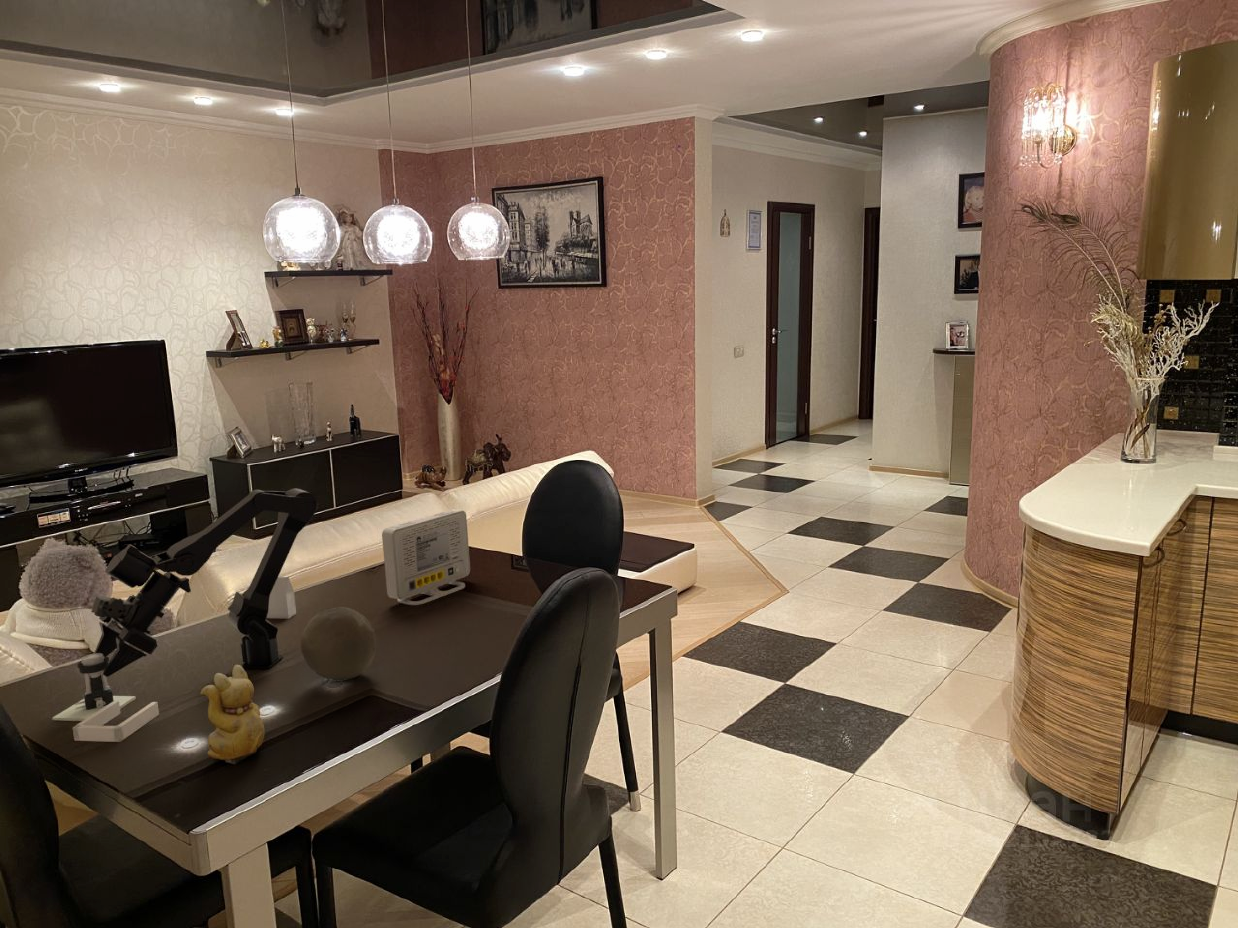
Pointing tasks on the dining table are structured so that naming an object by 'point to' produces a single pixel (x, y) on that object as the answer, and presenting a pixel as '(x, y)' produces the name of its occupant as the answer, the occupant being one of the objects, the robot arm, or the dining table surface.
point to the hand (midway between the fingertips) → (98, 669)
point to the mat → (83, 713)
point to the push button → (95, 681)
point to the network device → (426, 556)
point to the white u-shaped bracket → (96, 732)
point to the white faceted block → (282, 599)
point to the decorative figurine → (233, 717)
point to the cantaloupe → (338, 643)
